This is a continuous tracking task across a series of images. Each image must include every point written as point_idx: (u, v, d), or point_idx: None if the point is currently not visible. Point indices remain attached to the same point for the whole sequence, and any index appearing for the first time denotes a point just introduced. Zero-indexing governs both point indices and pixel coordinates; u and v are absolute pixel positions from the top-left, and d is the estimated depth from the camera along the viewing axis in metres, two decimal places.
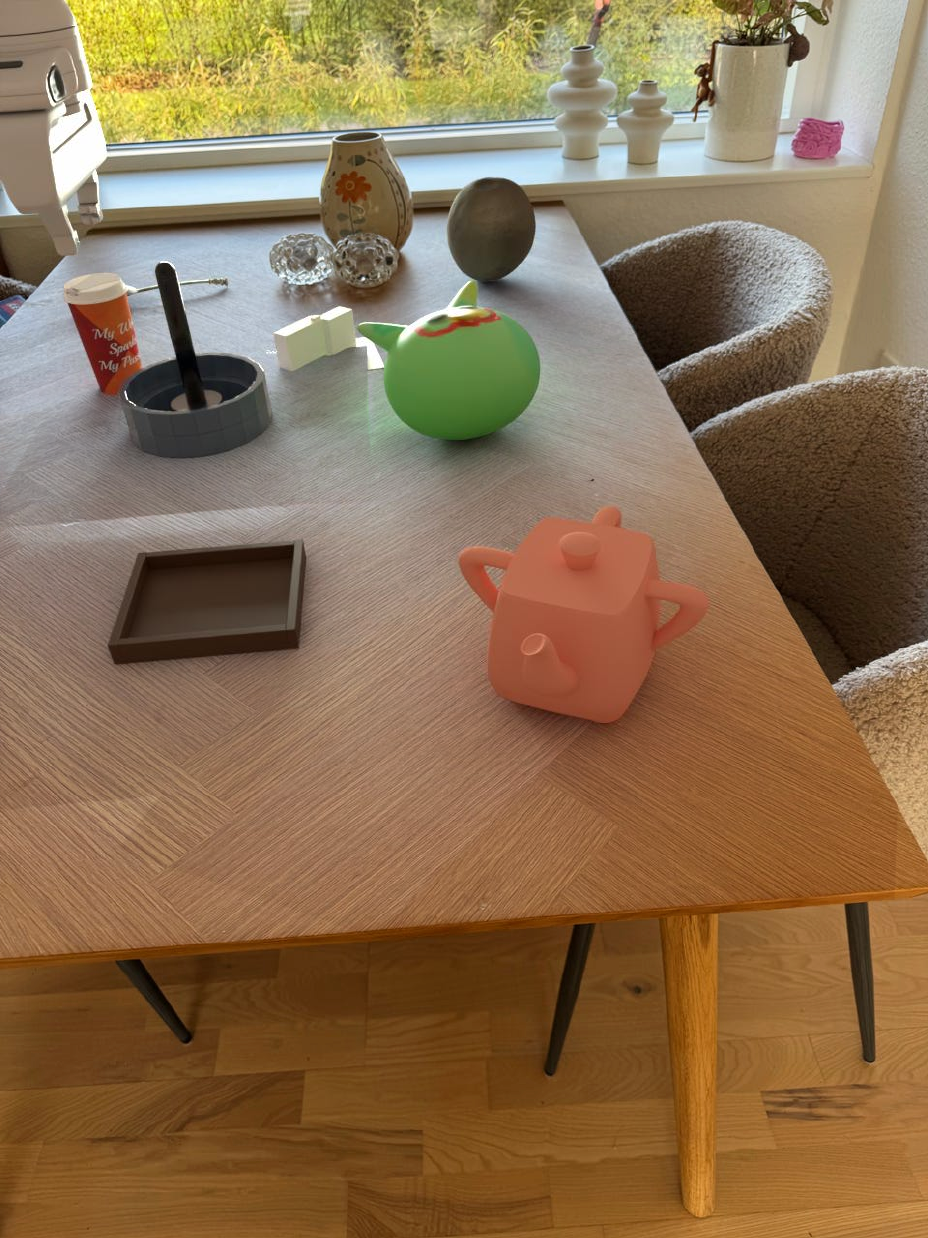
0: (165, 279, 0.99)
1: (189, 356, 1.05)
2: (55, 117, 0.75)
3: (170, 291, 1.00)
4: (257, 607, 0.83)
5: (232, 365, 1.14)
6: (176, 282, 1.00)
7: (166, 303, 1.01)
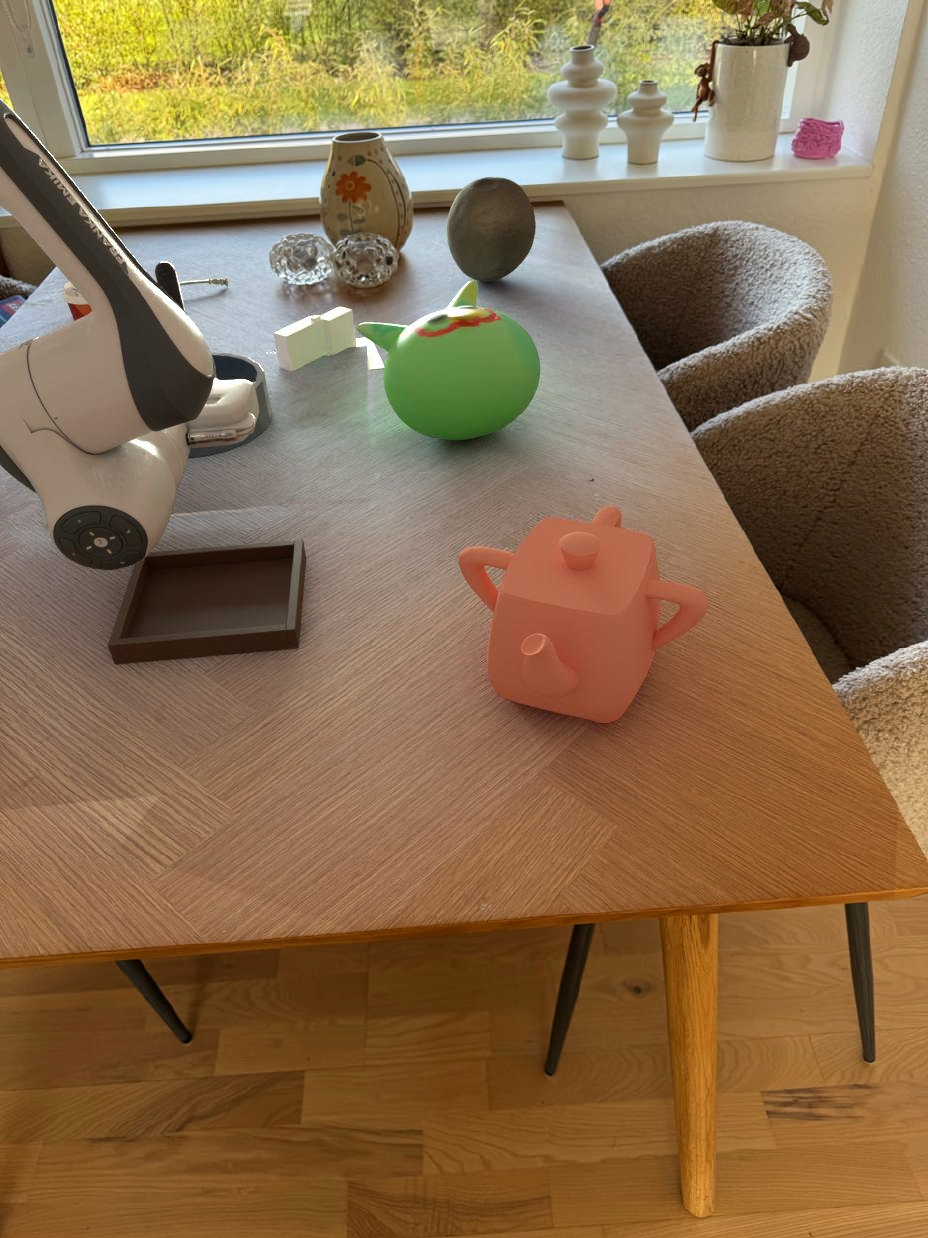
0: (165, 279, 0.99)
1: None
2: None
3: (170, 291, 1.00)
4: (257, 607, 0.83)
5: (232, 365, 1.14)
6: (176, 282, 1.00)
7: None
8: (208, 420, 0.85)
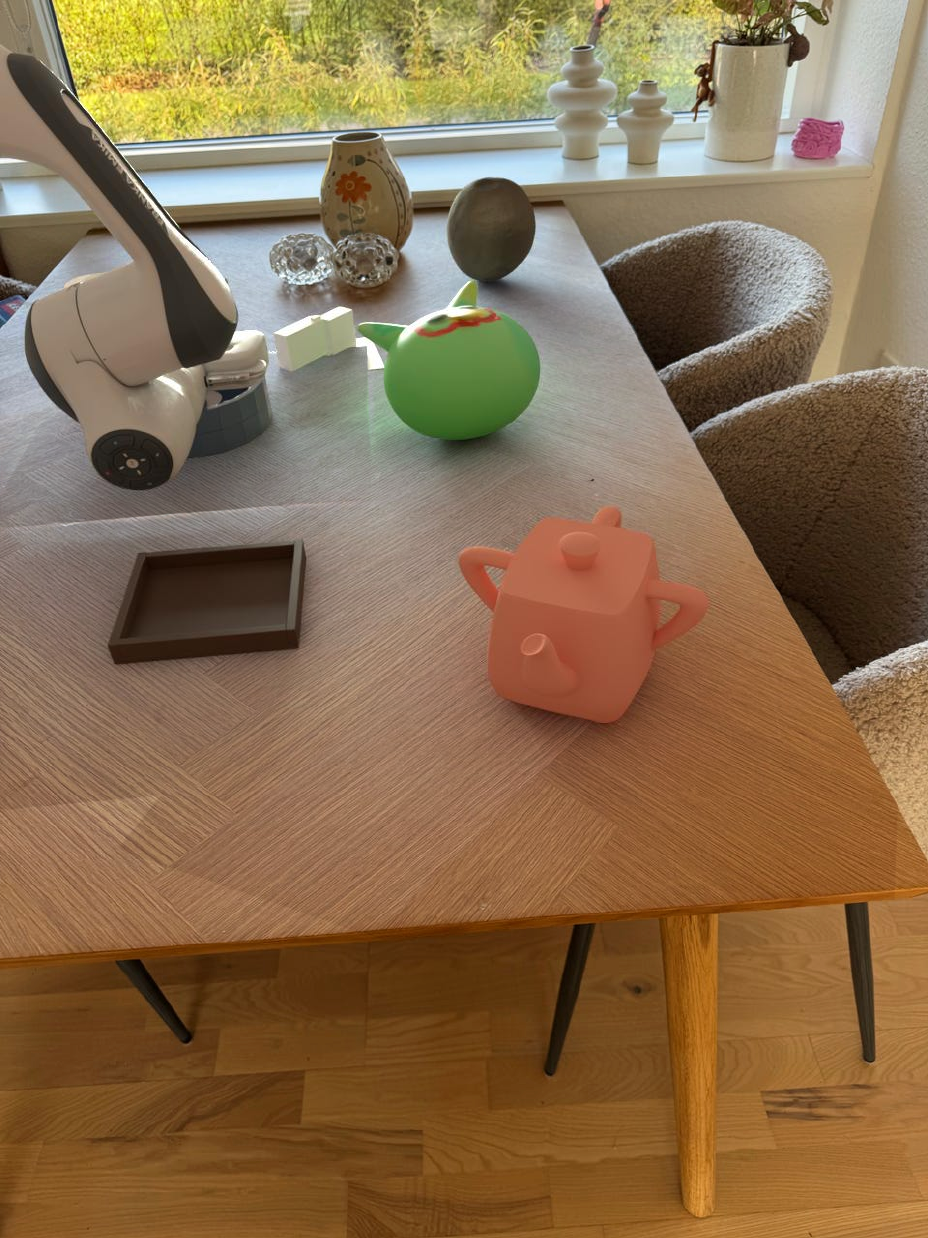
0: None
1: None
2: None
3: None
4: (257, 607, 0.83)
5: None
6: None
7: None
8: (224, 365, 0.95)
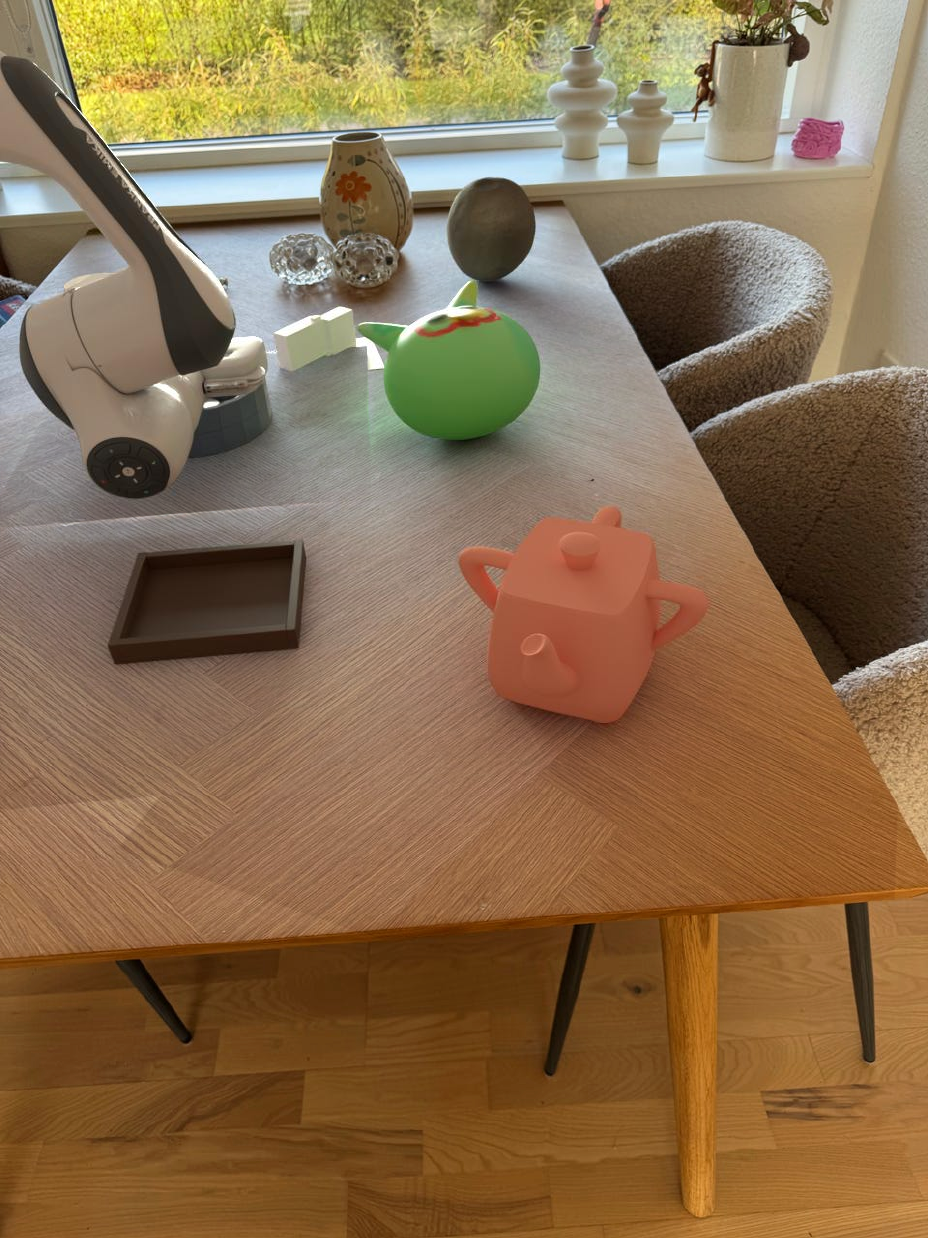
0: None
1: None
2: None
3: None
4: (257, 607, 0.83)
5: None
6: None
7: None
8: (222, 371, 0.94)
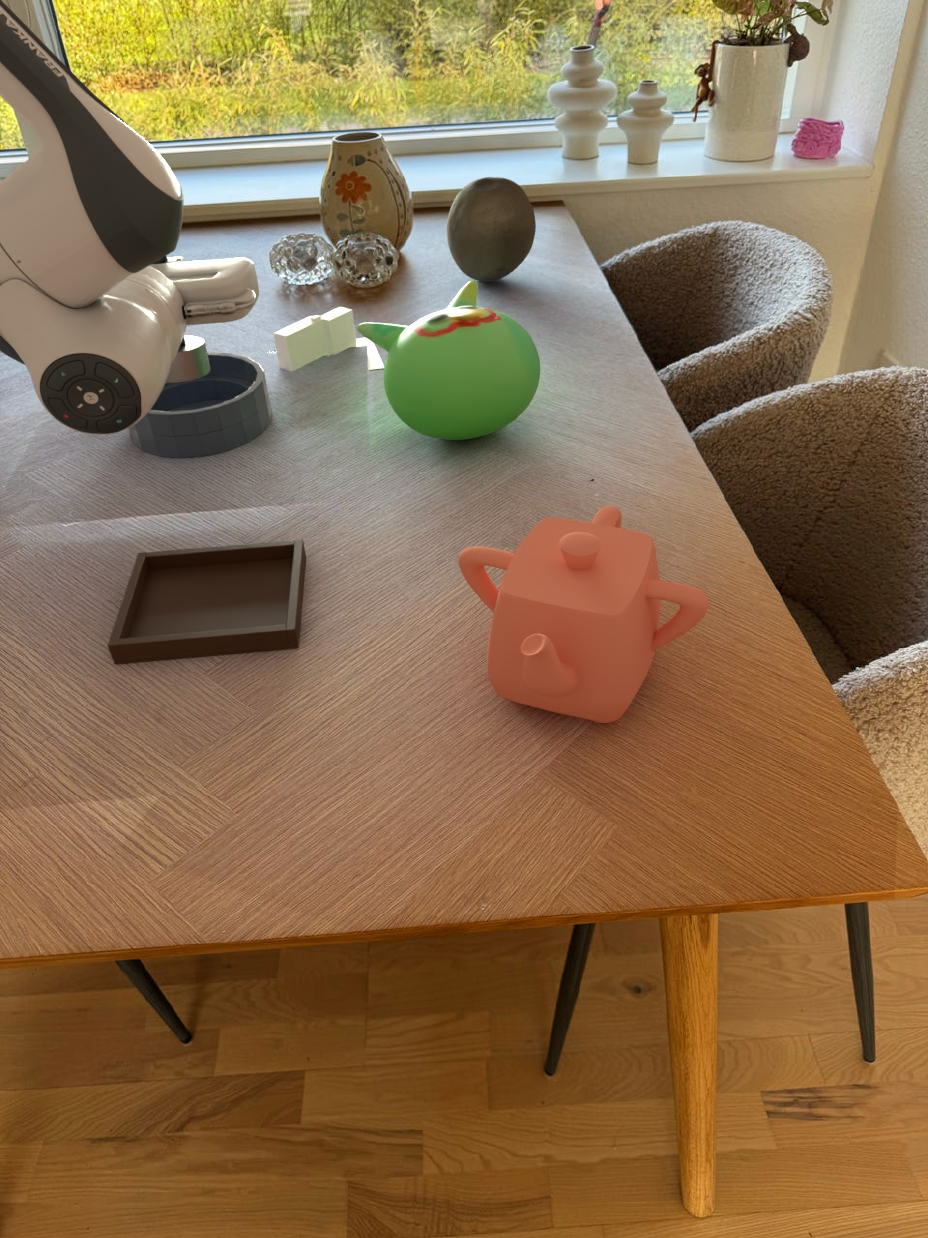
0: None
1: None
2: None
3: None
4: (257, 607, 0.83)
5: (232, 365, 1.14)
6: None
7: None
8: (206, 293, 0.81)
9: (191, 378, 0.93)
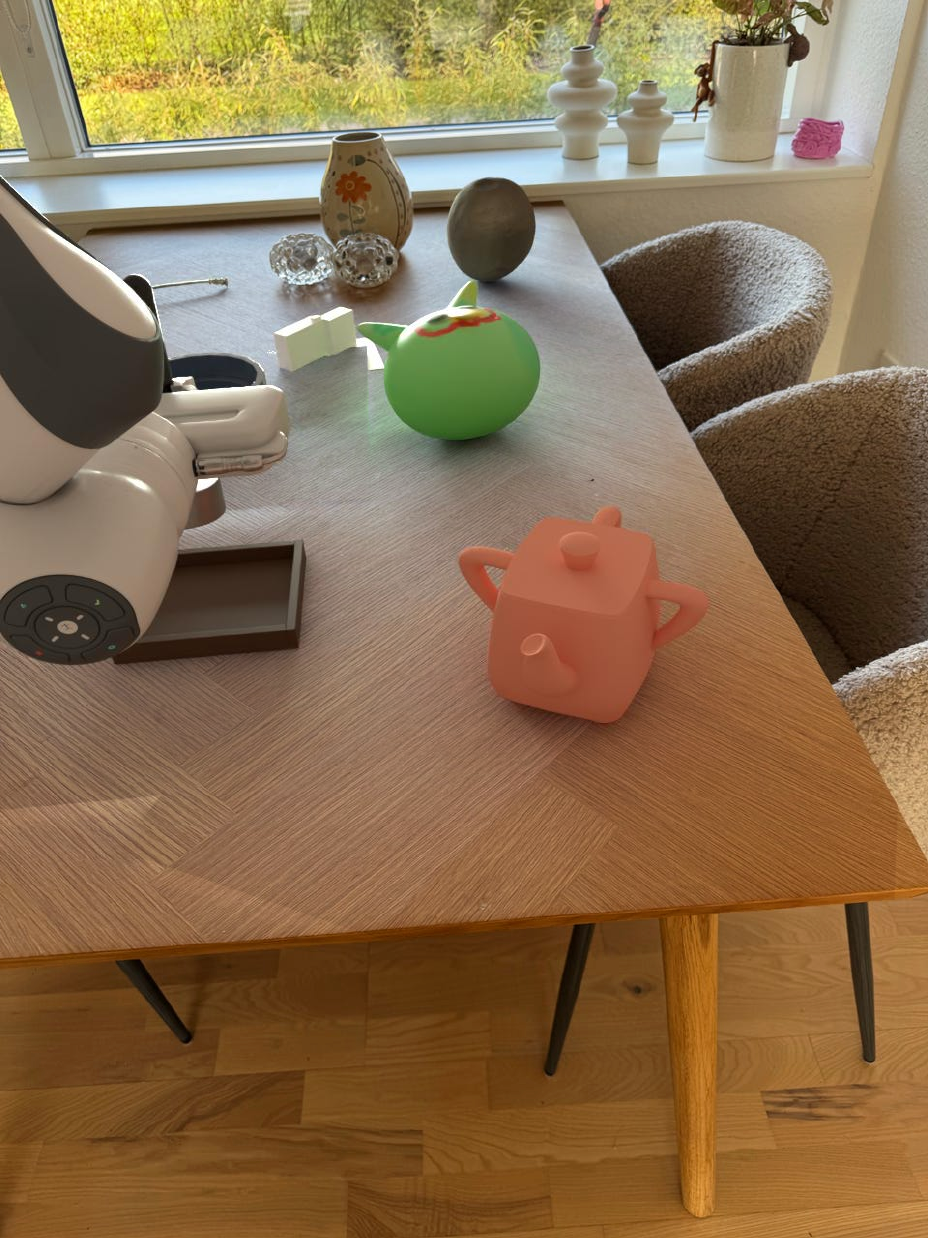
0: None
1: None
2: None
3: None
4: (257, 607, 0.83)
5: (232, 365, 1.14)
6: (151, 305, 0.67)
7: None
8: (223, 442, 0.62)
9: (202, 523, 0.74)
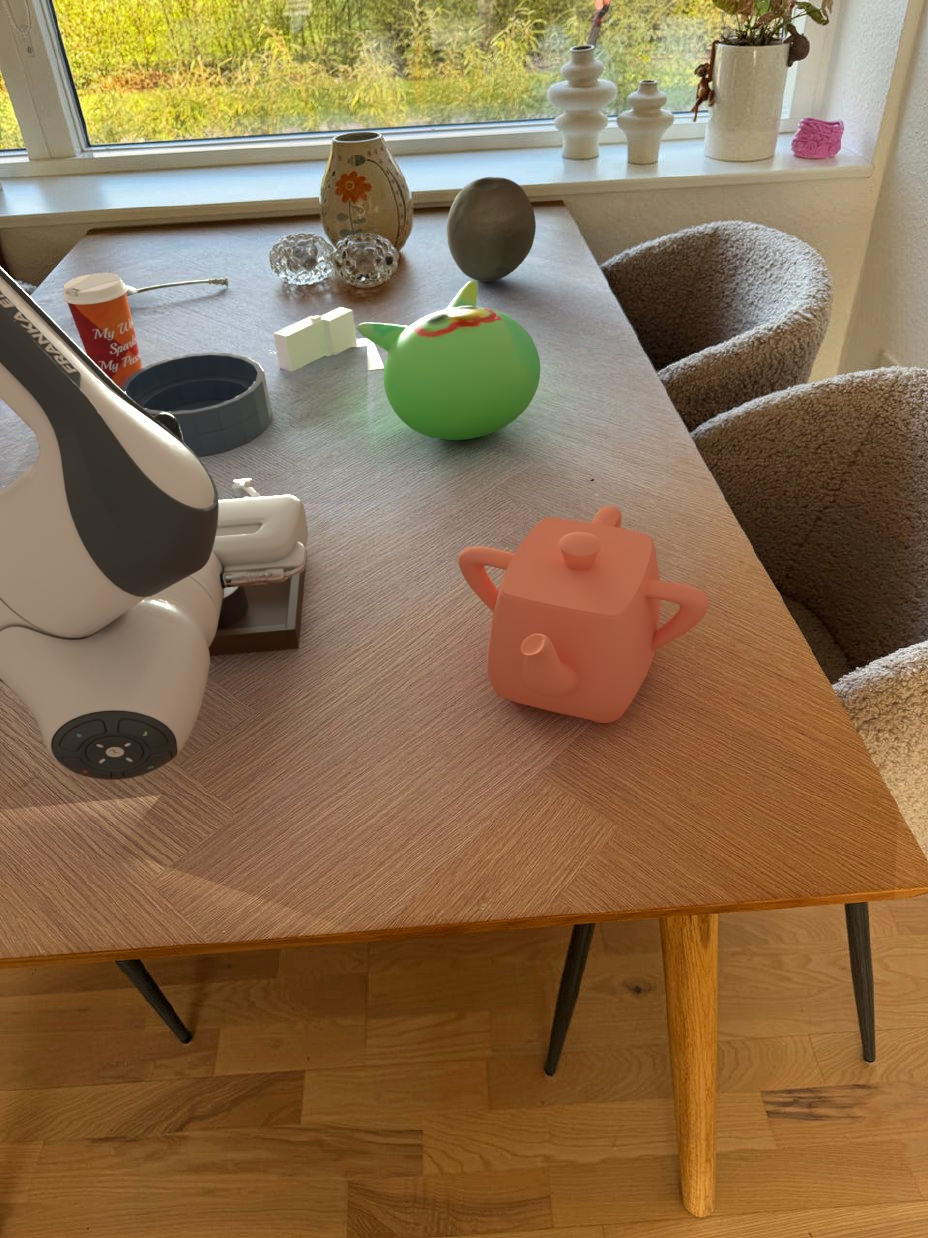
0: None
1: None
2: None
3: None
4: (257, 607, 0.83)
5: (232, 365, 1.14)
6: None
7: None
8: (248, 556, 0.67)
9: (227, 624, 0.80)
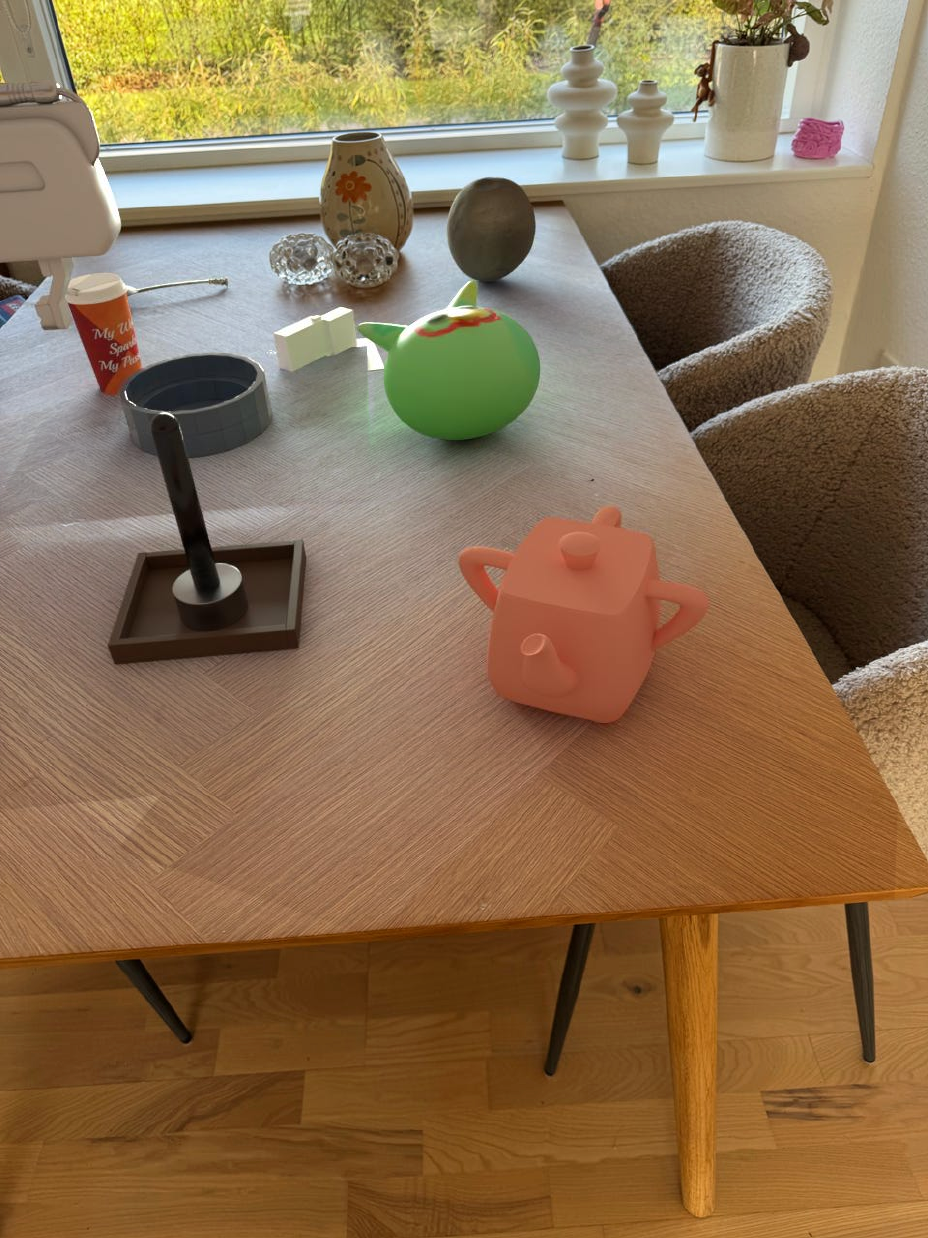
0: (163, 438, 0.71)
1: (196, 533, 0.76)
2: None
3: (170, 453, 0.71)
4: (257, 607, 0.83)
5: (232, 365, 1.14)
6: (179, 441, 0.71)
7: (165, 468, 0.72)
8: None
9: (227, 624, 0.80)
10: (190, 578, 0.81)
